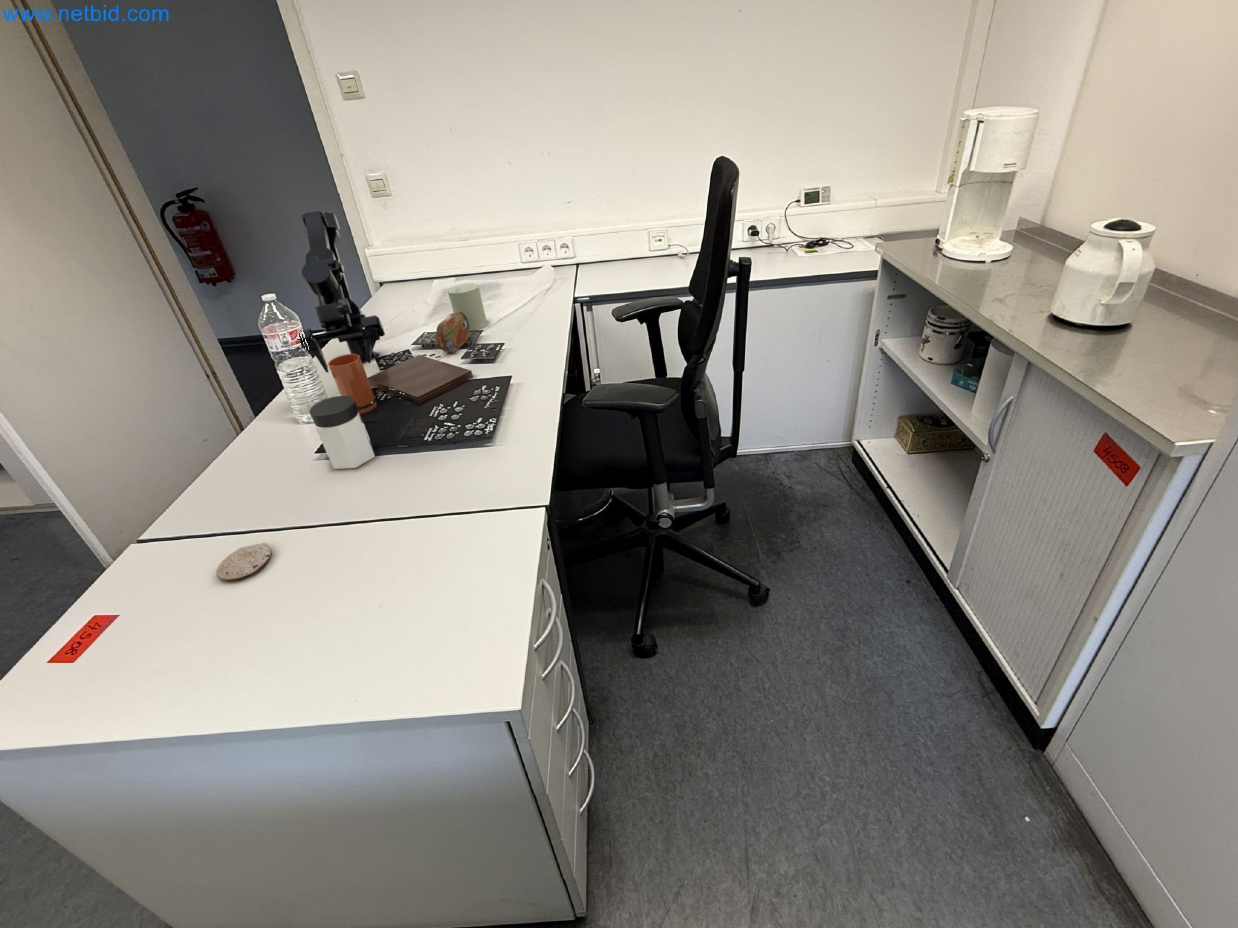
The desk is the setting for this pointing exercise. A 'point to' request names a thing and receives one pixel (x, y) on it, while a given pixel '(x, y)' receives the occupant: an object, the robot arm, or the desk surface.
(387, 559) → the desk surface
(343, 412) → the jar
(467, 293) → the can
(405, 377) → the board
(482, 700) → the desk surface
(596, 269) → the desk surface
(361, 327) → the robot arm
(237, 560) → the flatbread
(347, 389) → the pen cup
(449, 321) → the tin
